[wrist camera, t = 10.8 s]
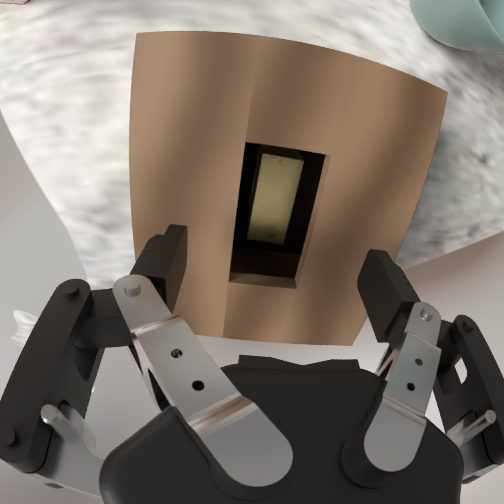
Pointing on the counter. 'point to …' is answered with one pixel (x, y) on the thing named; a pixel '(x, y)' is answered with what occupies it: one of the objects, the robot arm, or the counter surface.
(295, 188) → the block
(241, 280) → the coin box
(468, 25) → the cup
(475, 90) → the counter surface
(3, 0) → the cracker box
